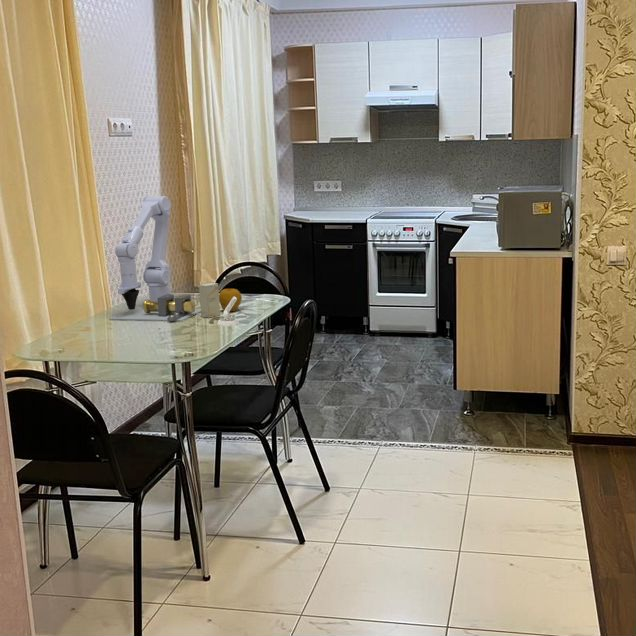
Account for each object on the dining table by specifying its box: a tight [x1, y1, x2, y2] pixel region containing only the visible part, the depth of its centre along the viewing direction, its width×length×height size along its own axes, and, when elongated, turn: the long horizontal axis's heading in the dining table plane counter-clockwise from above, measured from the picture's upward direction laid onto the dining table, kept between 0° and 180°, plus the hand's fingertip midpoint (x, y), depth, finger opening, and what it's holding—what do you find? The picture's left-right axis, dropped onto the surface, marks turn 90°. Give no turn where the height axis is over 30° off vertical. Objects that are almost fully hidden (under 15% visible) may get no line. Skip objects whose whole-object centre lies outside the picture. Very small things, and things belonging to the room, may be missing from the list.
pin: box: [142, 299, 196, 313], centre depth 312 cm, size 5×19×5 cm, turn 73°
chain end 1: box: [157, 293, 175, 317], centre depth 316 cm, size 15×3×7 cm, turn 163°
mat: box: [108, 308, 201, 322], centre depth 314 cm, size 18×30×1 cm, turn 73°
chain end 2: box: [167, 294, 192, 322], centre depth 307 cm, size 15×3×7 cm, turn 163°
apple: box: [219, 288, 243, 313], centre depth 316 cm, size 8×8×9 cm
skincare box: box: [198, 282, 221, 319], centre depth 308 cm, size 6×4×12 cm
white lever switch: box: [217, 296, 240, 327], centre depth 293 cm, size 8×12×7 cm
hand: (131, 309), depth 317 cm, fingers closed
